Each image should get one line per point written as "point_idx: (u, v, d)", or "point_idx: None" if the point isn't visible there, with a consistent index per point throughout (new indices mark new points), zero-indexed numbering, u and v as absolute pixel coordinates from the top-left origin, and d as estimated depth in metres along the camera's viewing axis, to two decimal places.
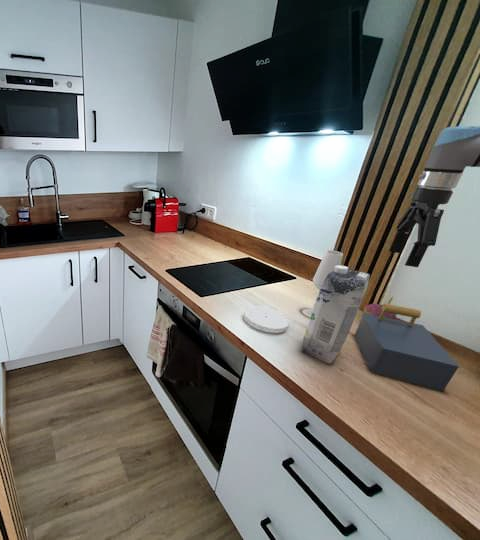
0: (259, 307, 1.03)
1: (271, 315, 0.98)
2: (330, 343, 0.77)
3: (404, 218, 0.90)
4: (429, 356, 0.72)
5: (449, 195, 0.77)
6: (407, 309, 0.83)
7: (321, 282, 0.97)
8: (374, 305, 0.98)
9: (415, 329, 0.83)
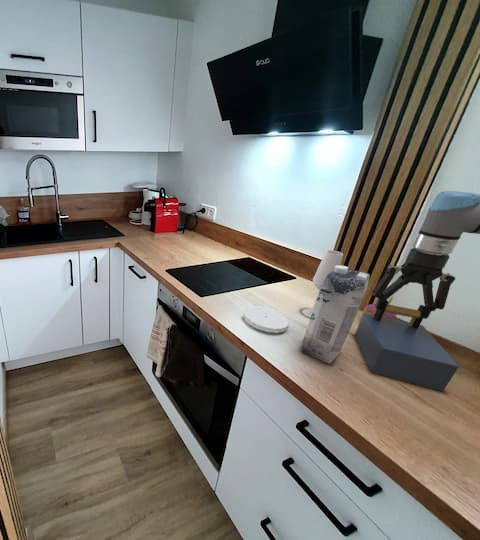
0: (259, 307, 1.03)
1: (271, 315, 0.98)
2: (330, 343, 0.77)
3: None
4: (429, 356, 0.72)
5: None
6: (407, 309, 0.83)
7: (321, 282, 0.97)
8: (374, 305, 0.98)
9: (415, 329, 0.83)
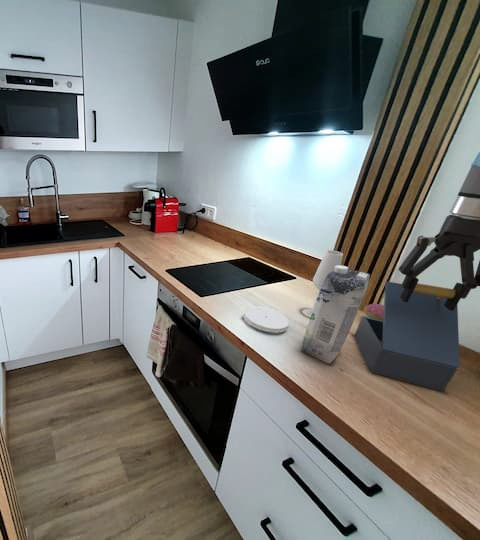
0: (259, 307, 1.03)
1: (271, 315, 0.98)
2: (330, 343, 0.77)
3: None
4: (432, 355, 0.71)
5: None
6: (439, 291, 0.71)
7: (321, 282, 0.97)
8: (374, 305, 0.98)
9: (441, 304, 0.74)
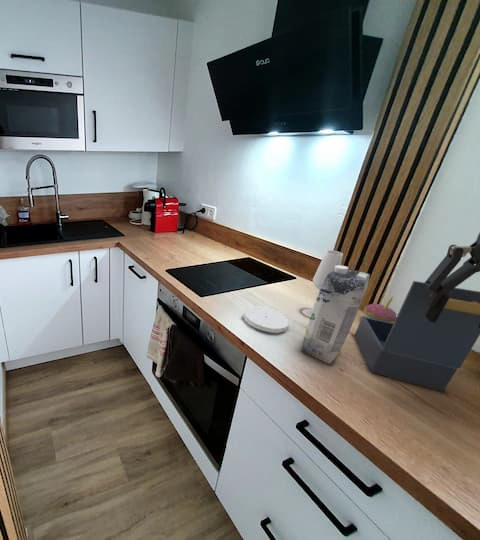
0: (259, 307, 1.03)
1: (271, 315, 0.98)
2: (330, 343, 0.77)
3: None
4: (435, 357, 0.70)
5: None
6: (471, 311, 0.60)
7: (321, 282, 0.97)
8: (374, 305, 0.98)
9: None
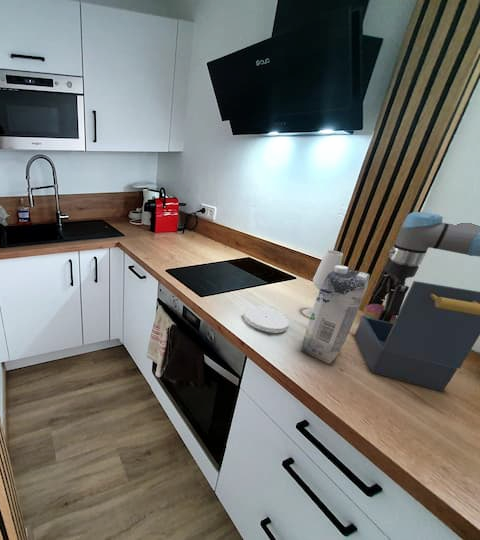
0: (259, 307, 1.03)
1: (271, 315, 0.98)
2: (330, 343, 0.77)
3: (379, 285, 1.00)
4: (435, 357, 0.70)
5: (415, 270, 0.87)
6: (471, 311, 0.60)
7: (321, 282, 0.97)
8: (374, 305, 0.98)
9: None
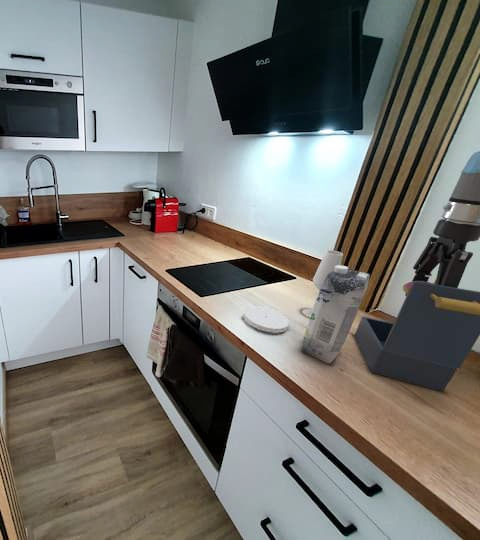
0: (259, 307, 1.03)
1: (271, 315, 0.98)
2: (330, 343, 0.77)
3: (423, 256, 0.77)
4: (435, 357, 0.70)
5: None
6: (471, 311, 0.60)
7: (321, 282, 0.97)
8: None
9: None
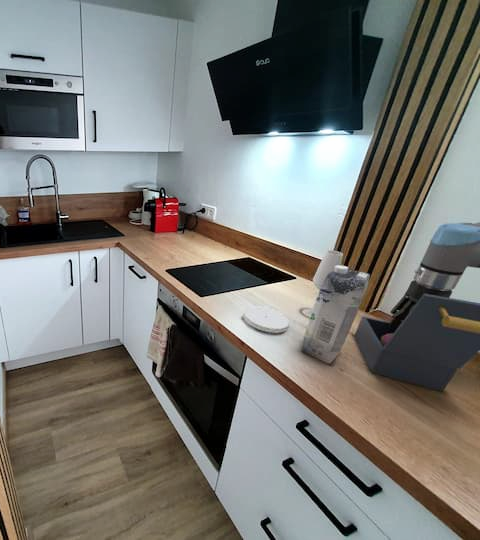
0: (259, 307, 1.03)
1: (271, 315, 0.98)
2: (330, 343, 0.77)
3: (400, 306, 0.83)
4: (435, 359, 0.69)
5: (448, 296, 0.70)
6: (479, 332, 0.57)
7: (321, 282, 0.97)
8: None
9: None
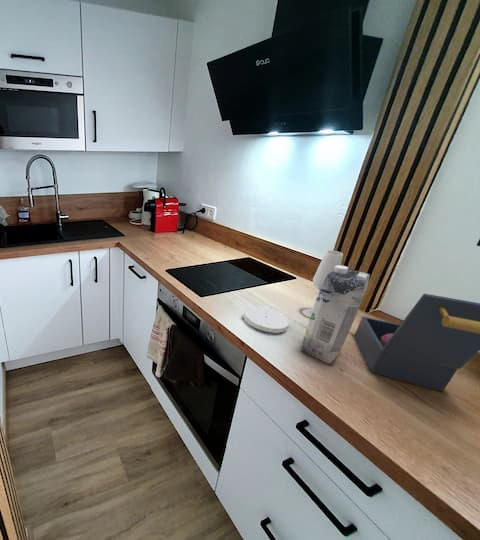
0: (259, 307, 1.03)
1: (271, 315, 0.98)
2: (330, 343, 0.77)
3: None
4: (435, 359, 0.69)
5: None
6: (479, 332, 0.57)
7: (321, 282, 0.97)
8: None
9: None
